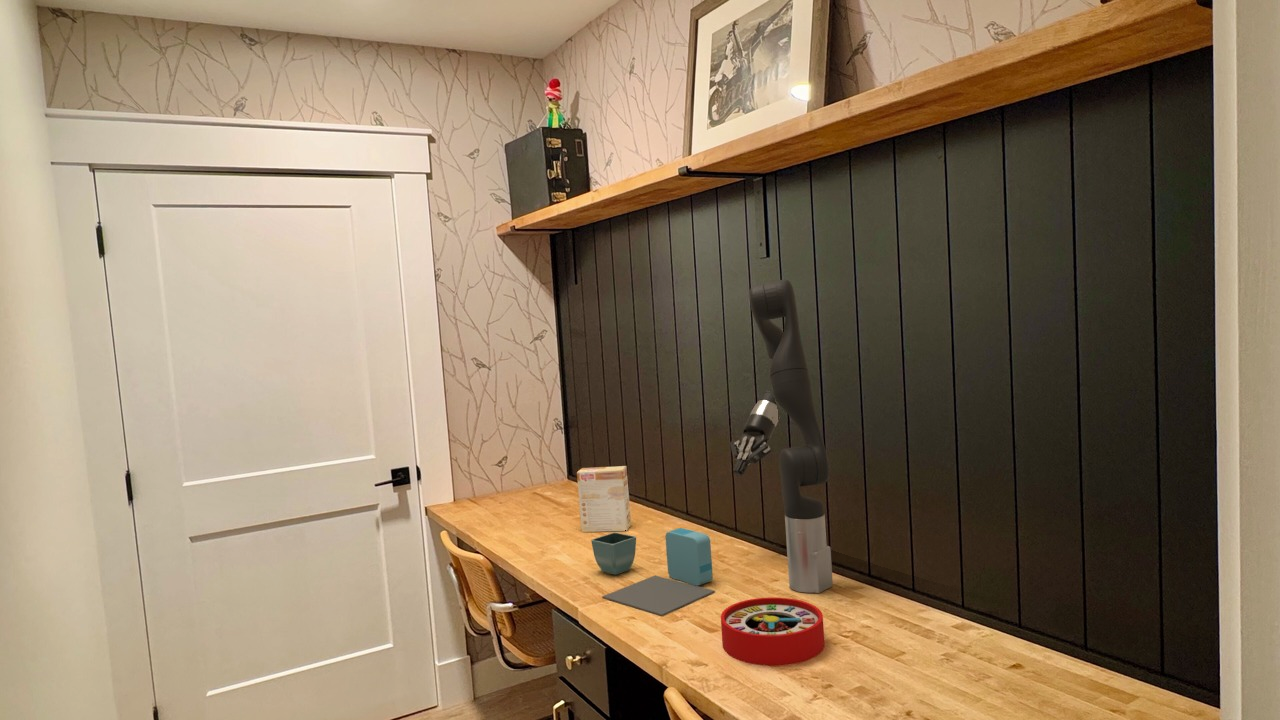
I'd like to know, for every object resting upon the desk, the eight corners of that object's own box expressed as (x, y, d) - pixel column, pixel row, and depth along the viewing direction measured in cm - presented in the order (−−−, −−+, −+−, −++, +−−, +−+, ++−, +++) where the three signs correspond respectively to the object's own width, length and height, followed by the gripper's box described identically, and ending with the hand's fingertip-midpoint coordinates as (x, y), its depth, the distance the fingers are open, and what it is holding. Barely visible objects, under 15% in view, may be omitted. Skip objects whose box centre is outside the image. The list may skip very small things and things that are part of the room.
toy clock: (723, 597, 167) (819, 596, 164) (725, 624, 168) (821, 624, 164) (717, 636, 148) (826, 635, 144) (719, 667, 148) (828, 667, 145)
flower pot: (617, 564, 214) (614, 531, 214) (639, 569, 208) (637, 536, 208) (592, 573, 208) (590, 539, 208) (615, 579, 202) (612, 544, 201)
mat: (714, 592, 187) (714, 590, 187) (662, 616, 174) (662, 614, 174) (655, 576, 201) (654, 575, 201) (602, 598, 189) (602, 596, 189)
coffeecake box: (631, 525, 253) (627, 465, 252) (627, 531, 246) (622, 469, 245) (586, 526, 256) (581, 467, 255) (581, 532, 249) (576, 471, 248)
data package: (713, 582, 194) (710, 534, 193) (700, 587, 191) (696, 538, 191) (681, 572, 203) (677, 526, 203) (667, 577, 200) (664, 530, 200)
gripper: (736, 411, 217) (710, 463, 209) (776, 413, 207) (750, 468, 199) (749, 428, 221) (724, 479, 213) (789, 430, 211) (764, 484, 203)
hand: (737, 474), depth 206 cm, fingers closed
